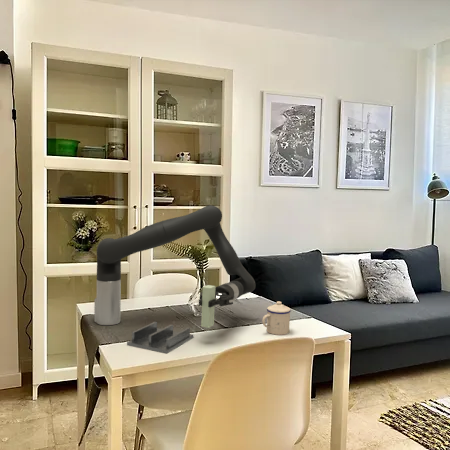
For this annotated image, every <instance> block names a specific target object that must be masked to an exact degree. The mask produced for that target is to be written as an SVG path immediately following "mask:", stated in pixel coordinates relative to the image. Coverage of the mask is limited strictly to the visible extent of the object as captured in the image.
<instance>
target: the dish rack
mask: <svg viewBox="0 0 450 450" xmlns="http://www.w3.org/2000/svg"><path fill="white" fill-rule="evenodd" d="M194 336H195V335H194V334H192V333H191V329H190V327H185V328H184V329H182V330H180V331H175V330H174V324H169V325H167V326H165V327H163V328H160V327H158V322H157V321H153V322H151V323H149V324H147V325H146V324H145V326H142V327H140V328H138V329H136V330H134V331H131V340H128V341H127V342H126V345H127V346H130V347H134V348H140V349H144V350H149V351H154V352H158V353H163V354H168V353H170V352H172V351H174V350H175V349H177V348H178V347H180V346H182V345H183V344H186V342H188V341H190V340H192V339H193V338H194Z"/></svg>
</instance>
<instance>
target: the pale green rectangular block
mask: <svg viewBox="0 0 450 450" xmlns="http://www.w3.org/2000/svg"><path fill="white" fill-rule="evenodd" d="M216 287H217V285H211V284H206V285H205V286H202V291H201V292H202V306H201V319H200V320H201V322H200V327H203V328H207V329H210V328H211V327H213V326H214V325H215V307H216V306H213V307H211V308H210V307H208V302H209V301H210V300H212V299H215V288H216Z"/></svg>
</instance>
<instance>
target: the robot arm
mask: <svg viewBox="0 0 450 450" xmlns="http://www.w3.org/2000/svg"><path fill="white" fill-rule="evenodd" d="M222 220H223V212H222V211H221V209H220V208H219V207H217V206H215V205H212V204H211V205H210V204H209V205H206V206H203V207H201V208H200V209H198V210H196V211H193V212H191V213H188V214H185V215H181V216H177V217H172V218H171V217H170V218H168V219H165V220H162V221H161V220H160V221H158V222H155V223H152V224H149V225H147V226H145V227H143V228H141V229H140V230H137V231H136V232H133V233H130V234H129V235H126V236H123V237H122V236H121V237H119V238H111V237H107V238H103V239H102V240H101V241H99V242H98V245H97V247H96V297H95V298H94V307H93V308H94V309H93V310H94V319H93V320H94V321H93V322H94V323H96V324H97V325H101V326H112V325H117V324H119V323H120V322H121V312H122V311H121V310H122V309H121V305H122V304H121V301H122V299H121V298H122V297H121V296H122V293H121V291H122V290H121V289H122V285H121V283H122V280H121V279H122V260H123V259H124V258H126V257H129V256H131V255H133V254H136V253H140V252H143V251H149V250H151V249H155V248H158V247H161V246H164V245H167V244H170V243H172V242H174V241H177V240H179V239H181V238H183V237H185V236H188V235H189V234H192V233H194V232H198V231H202V230H204V232H205V233H206V235H207V236H208V237H209V240H210V241H211V243H212V245H213V246H214V248H215V251H216V253H217V254H218V258H219V259H220V262H221V264H222V266H223V268H224V270H225V272H226V274H227V275H229V276H234V275H237V276H238V277H239V278H236V279H233V280H231V281H229V282H225V283H223V284H220V285H218V286H217V285H216V287H215V299H212V300H210V301H209V302H208V307H210V308H211V307H213V306H215V307H218V306H220V307H225V306H230V305H233V304H234V301H235V300H237V299H238V298H240V297H242V296H244V295H246V294H249V293H251V292H253V291H254V290H255V289H256V281H255V279H254V277H253V276H252V275H251V273H249V272H248V270H247V269H246V268H245V267H244V266H243V264H242V262H241V260H240V259H239V255H238V254H237V252H236V250H235V249H234V247H233V246H232V244H231V242H230V241H229V240H228V237H227V236H226V235H225V232H224V230H223V228H222V225H221V222H222ZM198 306H200V307H202V291H200V294H199V299H198Z"/></svg>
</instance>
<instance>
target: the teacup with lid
mask: <svg viewBox="0 0 450 450" xmlns="http://www.w3.org/2000/svg"><path fill="white" fill-rule="evenodd" d="M266 312H267V314H264V315H263V317H262V320H261V322H262V325H263V327H265V328H266V331H267V332H268V333H269V334H272V335H275V336H283V335H287V334H289V333H290V325H291V324H290V323H291V322H290V321H291V320H290V319H291V308H290V307H288V306H286V305H284V304H282V301H280V300H279V301H276V303H274V304H273V305H272V304H271V305H268V307H266Z"/></svg>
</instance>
